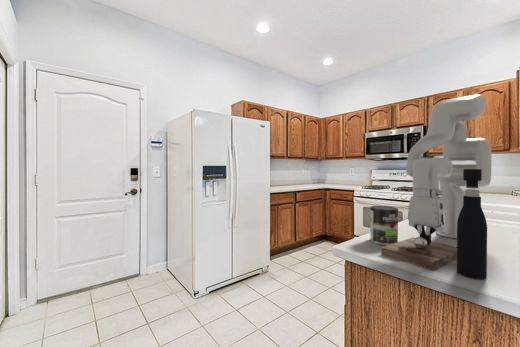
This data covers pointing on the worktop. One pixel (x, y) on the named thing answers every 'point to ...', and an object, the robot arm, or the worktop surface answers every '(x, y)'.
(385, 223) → the coffee can
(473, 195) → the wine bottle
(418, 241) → the ball
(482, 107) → the robot arm
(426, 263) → the board
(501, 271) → the worktop surface
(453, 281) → the worktop surface
